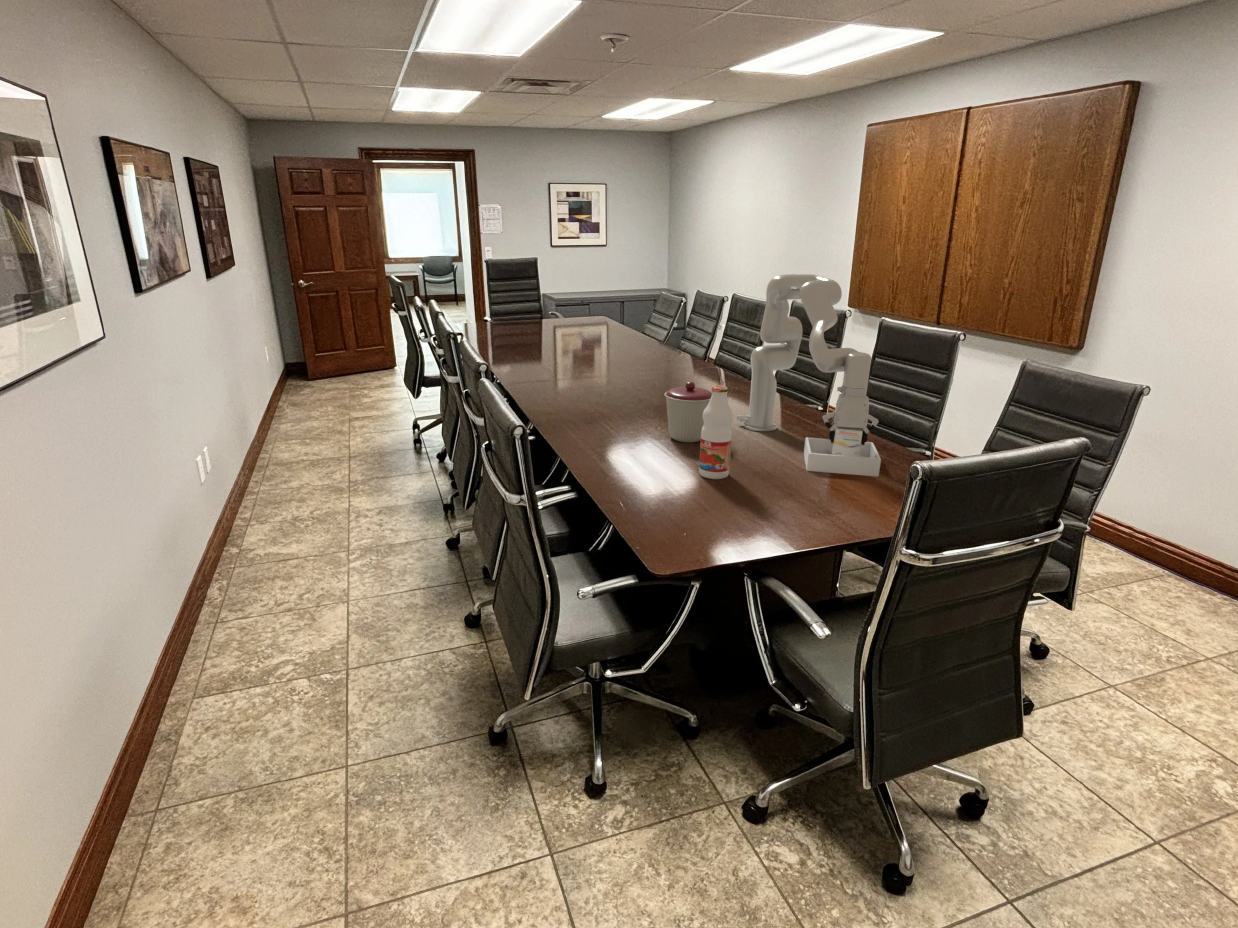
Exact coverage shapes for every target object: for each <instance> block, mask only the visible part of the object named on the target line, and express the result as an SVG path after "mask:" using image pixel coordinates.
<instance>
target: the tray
mask: <svg viewBox="0 0 1238 928" xmlns="http://www.w3.org/2000/svg"><path fill="white" fill-rule="evenodd" d="M804 438H805V440H804V446H803V447H804V448H803V457H804V463H805V469H806V471H807V472H817V473H820V472H821V473H830V474H844V475H855V476H866V477H879V475H880V468H881V464H882V463H881V462H882V458H881V456H880V454H879V452H878V450H877V448H876V446H875V444H874V442H872V441H867V442H865V444H864V445H862V444H861V446H860V453H859V457H856V456H843V455H832V448H833V443H831V441H830V440H829V438H819V437H818V438H817V437H807V436H805V437H804Z"/></svg>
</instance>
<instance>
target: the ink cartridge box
mask: <svg viewBox="0 0 1238 928" xmlns="http://www.w3.org/2000/svg"><path fill="white" fill-rule="evenodd" d="M834 431H835V435H834V443H833V448H832V455H843V456H856V457H859V453H860V446H861V439H862V432H863V428H848V427H836V428H835V429H834Z"/></svg>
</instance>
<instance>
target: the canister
mask: <svg viewBox="0 0 1238 928" xmlns="http://www.w3.org/2000/svg"><path fill="white" fill-rule="evenodd" d="M711 396H712V392H711V390H708V389H707V388H701V387H696V384H695V383H694V381H687V382H686V383H685V385H684V386H679V387H678V386H677V387H674V388H670V389H669V390H667V391H665V393H664V397H665V400H666V413H667V414H666V415H667V426H668V433H669V436H670V438H672V439H673V440H675V441H678V442H681V443H697V442H701V431H702V427H703V425H704V421H703V412H704V410H705V408H706V407H707V405H708V403H709V401H710V399H711Z"/></svg>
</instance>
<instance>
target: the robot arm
mask: <svg viewBox="0 0 1238 928" xmlns="http://www.w3.org/2000/svg"><path fill="white" fill-rule="evenodd" d="M765 292H766V293H765V298H766V299H765V308H764V313H763V316H762V320H761V321H762V323H761V326H760V332H759V333H760V334H759V336H760V340H761V341H762V342H763V343H765V344H766V345H760V346H757V347H755V348H754V349H753V350H752V352H751V353H750V367H751V381H750V382H751V383H750V394H749V406H748V407H749V408H748V413H747V414H744V415H740V414H739V415H738V414H737V415H736V421H739V422H744V423H743V427H744V428H745V429H747V430H751V431H755V432H772V431H775V430H777V428H778V426H777V423H775V422H774V418H775V417H774V415H775V407H776V406H775V405H776V398H777V383H778V382H777V379H776V376H775V374H774V371H785V370H789V369H790V370H791V368H793V367H794V366H795V364H796V361H797V358H798V354H799V350H800V345H801V342H802V338H803V324H802V322H801V319H799V318H797V317H796V316H789V313H790V303H789V301H788V300H801V303H802V306H803V308H804V310H805V312H806V315H807V318H808V319H809V322H810V324H811V327H812V329H811V332H810V335H809V338H808V339H809V340H808V341H809V342H808V347H809V349H808V350H809V353H810V356H811V358H812V361H813V363H814V364H815V366H816V368H817V369H818V370H819V371H821V372H822V373H827V374H829V373H837V372H838V373H840V372H842V373H843V378H842V385H841V386H837V392H839V395H838V398H837V400H836V404H835V407H834V408H835V409H834V411H832V412H829V413H826V414H824V415H822V420H823V422H824V425H825V426H826V427H827V428H828V430H829V434H828V439H829V440H830V441H831V443H834V435H835V428H836V427H848V428H863V432H862V439H861V444H862V445H864V444H865V442H868V434H869V433H870V432H871V431H872V430H874V429H875V428H876V427H877V425H878V424H879V423H880V422H879V419H878V418H877V417H874V416H872V415H871V414H869V413H870V412H869V411H870V410H869V409H870V408H869V407H870V403H869V401H870V399H869V396H867V392H868V384H869V379H870V371H871V370H870V369H871V364H872V356H871V354H869V353H866V352H862V351H861V352H860V351H858V350H856V349H855V348H852V347H841V348H840V347H838V348H837V347H836V348H829V347H828V346H827V343H826V340H825V337H824V336H825V334H824V333H825V332H827V330H829V329H831V328H832V327H834V326H835V324H837V322H838V318H839V317H838V314H837V312H836V310H835V308H834V305H837V304H838V303H839V302H840V301H841V299H842V296H843V292H842V287H841V286H840V284H839V283H838V282H837V281H835V280H834V279H831V278H827V277H823V276H820V275H818V274H817V275H816V274H808V273H807V274H805V273H804V274H793V273H792V274H780V275H776V276H774V277H772V278H771V279H770V280H769V282H768V283H767V287H766V291H765ZM767 344H768V345H767ZM831 418H833V422H832V423H830V421H829V419H831ZM868 420H869V421H871V424H870V425H868V422H869V421H868Z"/></svg>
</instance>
